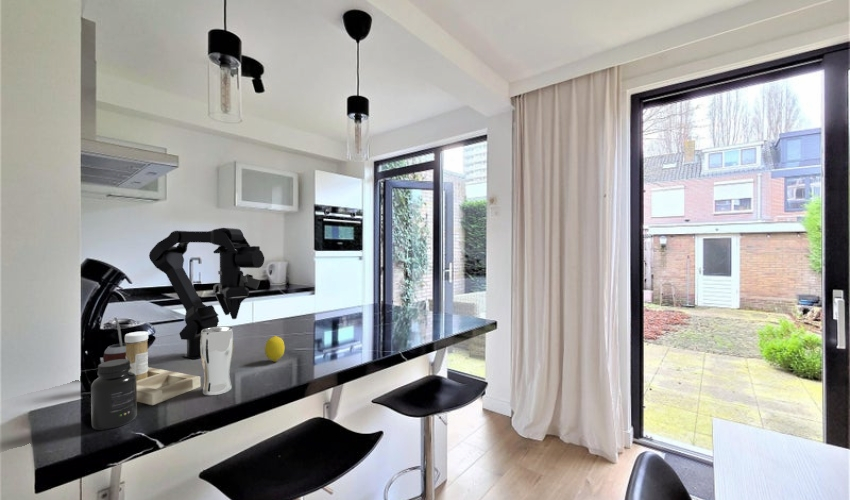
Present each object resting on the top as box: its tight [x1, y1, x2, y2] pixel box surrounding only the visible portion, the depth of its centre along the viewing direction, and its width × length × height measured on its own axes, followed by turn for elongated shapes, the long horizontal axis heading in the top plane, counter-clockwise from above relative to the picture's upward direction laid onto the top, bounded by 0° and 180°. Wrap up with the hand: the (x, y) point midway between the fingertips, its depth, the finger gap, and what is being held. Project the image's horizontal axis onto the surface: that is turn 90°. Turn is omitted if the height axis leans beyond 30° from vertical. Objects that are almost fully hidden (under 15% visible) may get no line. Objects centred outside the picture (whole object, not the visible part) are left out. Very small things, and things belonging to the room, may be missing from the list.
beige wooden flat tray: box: [137, 366, 201, 406], centre depth 86 cm, size 21×11×3 cm, turn 69°
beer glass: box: [200, 325, 234, 397], centre depth 85 cm, size 7×7×15 cm
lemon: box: [264, 335, 286, 363], centre depth 106 cm, size 6×6×8 cm
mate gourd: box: [102, 317, 126, 363], centre depth 96 cm, size 8×8×15 cm
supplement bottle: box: [90, 359, 138, 431], centre depth 69 cm, size 7×7×12 cm
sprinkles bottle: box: [124, 330, 149, 381], centre depth 88 cm, size 5×5×14 cm
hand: (230, 316), depth 110 cm, fingers open, 9 cm apart
